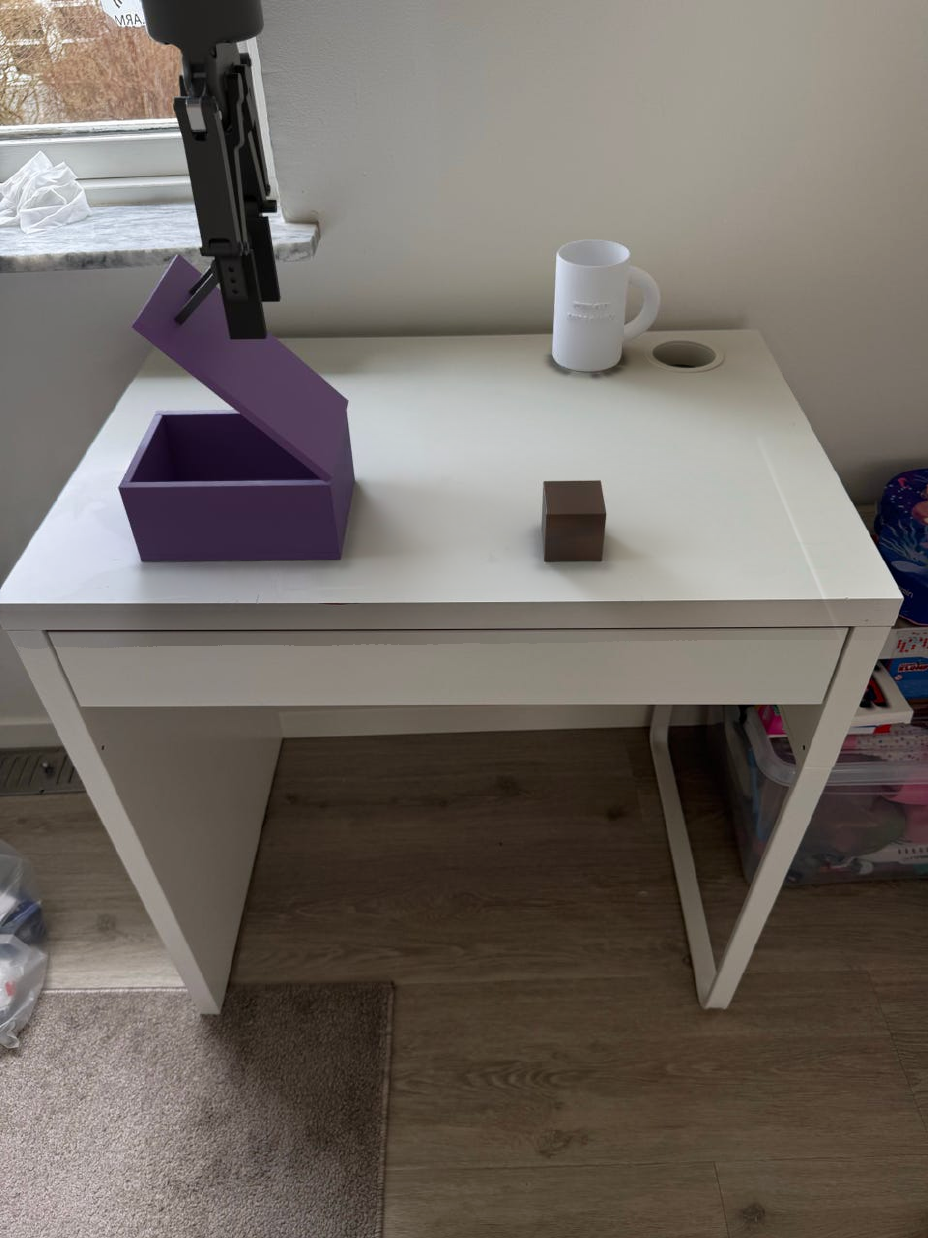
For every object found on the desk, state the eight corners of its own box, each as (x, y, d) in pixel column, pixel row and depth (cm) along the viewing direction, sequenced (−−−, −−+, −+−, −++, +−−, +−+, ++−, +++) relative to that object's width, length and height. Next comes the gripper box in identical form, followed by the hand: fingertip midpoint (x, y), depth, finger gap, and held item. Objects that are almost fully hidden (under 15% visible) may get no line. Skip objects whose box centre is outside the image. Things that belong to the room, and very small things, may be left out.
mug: (661, 369, 107) (675, 264, 99) (557, 374, 107) (562, 269, 99) (647, 337, 113) (658, 235, 105) (548, 342, 113) (552, 240, 105)
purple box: (141, 561, 83) (117, 487, 78) (175, 481, 92) (156, 410, 87) (340, 559, 83) (330, 484, 77) (355, 479, 92) (346, 407, 87)
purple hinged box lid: (130, 326, 68) (193, 251, 65) (172, 259, 78) (229, 191, 74) (326, 483, 77) (391, 425, 74) (343, 405, 87) (401, 351, 83)
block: (544, 561, 82) (546, 514, 78) (541, 527, 85) (543, 480, 82) (602, 561, 82) (606, 513, 78) (596, 526, 85) (600, 479, 82)
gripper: (224, -12, 52) (286, 374, 67) (278, -59, 66) (318, 269, 81) (88, -9, 52) (181, 376, 67) (171, -56, 66) (232, 271, 82)
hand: (256, 317), depth 74 cm, fingers closed on purple hinged box lid, 6 cm apart
